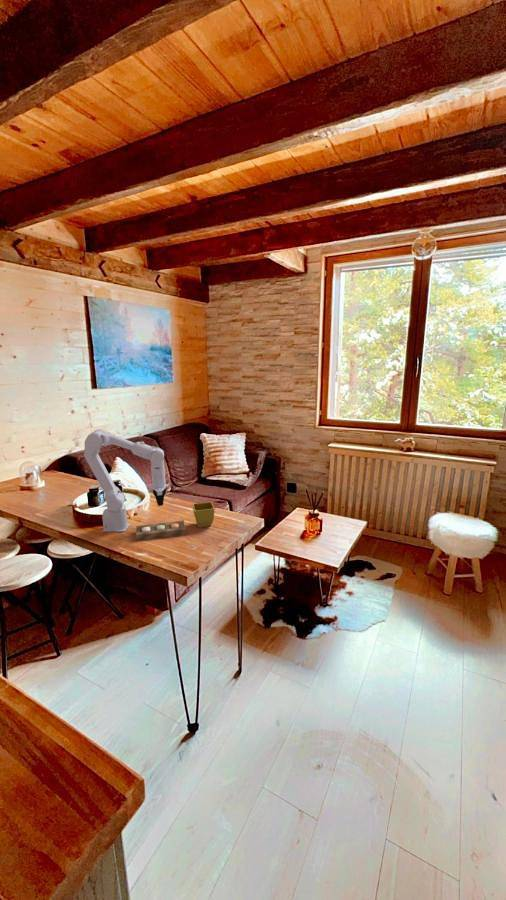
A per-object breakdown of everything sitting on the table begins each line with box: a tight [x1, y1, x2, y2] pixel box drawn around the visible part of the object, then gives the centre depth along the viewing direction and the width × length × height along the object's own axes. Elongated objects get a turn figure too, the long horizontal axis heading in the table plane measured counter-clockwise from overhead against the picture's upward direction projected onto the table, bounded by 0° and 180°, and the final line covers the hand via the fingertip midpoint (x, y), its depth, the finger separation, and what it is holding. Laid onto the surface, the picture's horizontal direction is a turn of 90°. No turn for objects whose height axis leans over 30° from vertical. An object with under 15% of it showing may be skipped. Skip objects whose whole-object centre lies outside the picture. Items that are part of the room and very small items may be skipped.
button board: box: [135, 520, 186, 542], centre depth 161 cm, size 20×9×2 cm, turn 105°
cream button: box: [142, 527, 151, 532], centre depth 159 cm, size 4×4×2 cm
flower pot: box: [192, 501, 216, 528], centre depth 168 cm, size 9×9×9 cm
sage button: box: [156, 525, 165, 530], centre depth 161 cm, size 4×4×2 cm
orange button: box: [171, 523, 179, 529], centre depth 162 cm, size 4×4×2 cm
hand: (160, 505), depth 167 cm, fingers closed
